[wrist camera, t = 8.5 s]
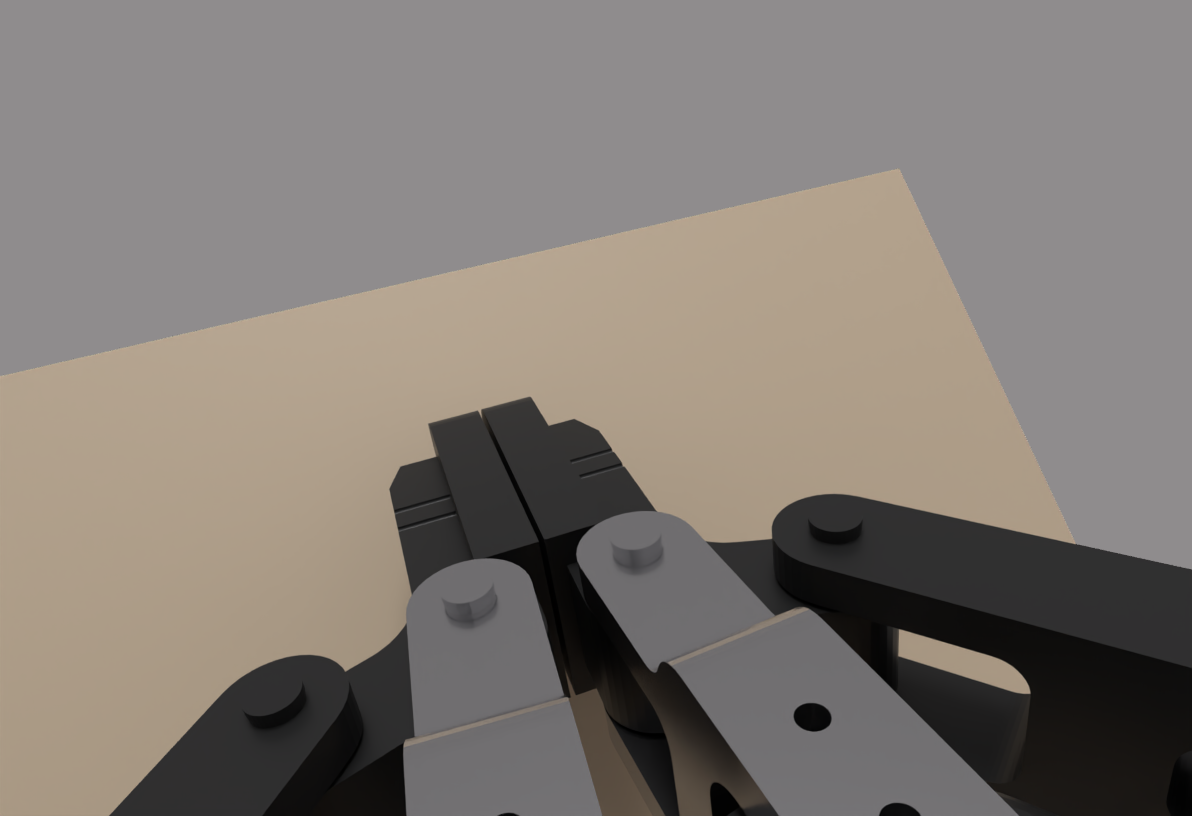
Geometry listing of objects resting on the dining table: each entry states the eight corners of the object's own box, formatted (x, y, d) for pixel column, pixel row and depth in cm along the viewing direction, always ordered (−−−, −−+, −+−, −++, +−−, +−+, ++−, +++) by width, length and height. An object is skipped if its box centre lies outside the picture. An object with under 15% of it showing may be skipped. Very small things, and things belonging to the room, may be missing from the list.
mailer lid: (-182, 418, 12) (-148, 432, 13) (-84, 1503, 9) (-47, 1450, 10) (899, 168, 16) (882, 189, 17) (1236, 885, 13) (1200, 877, 14)
